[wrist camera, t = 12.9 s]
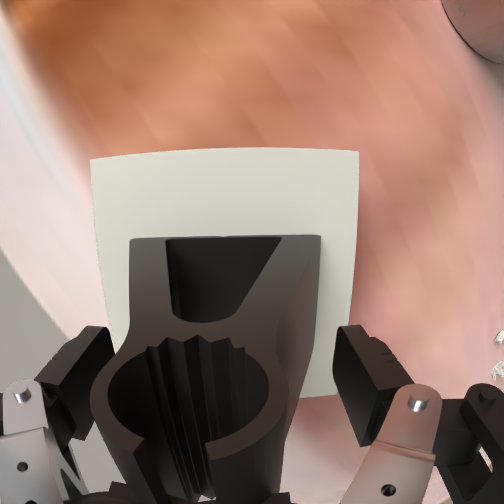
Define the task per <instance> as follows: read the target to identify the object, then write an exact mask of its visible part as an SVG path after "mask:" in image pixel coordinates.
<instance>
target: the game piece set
mask: <svg viewBox="0 0 504 504" xmlns="http://www.w3.org/2000/svg"><path fill="white" fill-rule="evenodd" d="M503 340H504V330H501V331H500V333H499V334H498V336H497V338H496V339H495V341H497V342H498V343H500V344H501V343H502V341H503ZM498 365H499V366H498ZM496 366H497V367H496ZM502 367H504V363H503V361H500V364H499V362H498V364H497V365H495V368H493V371H492V373H491V374H492V375H493V379H494V381H496V374H497V375H500V376H501V377H504V371H502V370H504V369H502ZM495 369H496V370H495ZM495 372H496V373H495ZM494 377H495V378H494Z"/></svg>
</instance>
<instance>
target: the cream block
mask: <svg viewBox="0 0 504 504" xmlns="http://www.w3.org/2000/svg"><path fill="white" fill-rule="evenodd" d="M90 166H91V190H92V206H93V218H94V228H95V238H96V246H97V254H98V262H99V269H100V275H101V282H102V288H103V293H104V299H105V304H106V310H107V315H108V319H109V324H110V329H111V333H112V338H113V342H114V346H115V350H116V353H117V351H118V350H119V349H120V347H121V345H122V344H123V342H124V340H125V338H126V336H127V333H128V330H129V324H130V317H129V241H130V240H131V239H134V238H153V237H189V236H222V237H225V236H235V235H304V234H314V235H320V236H321V251H320V271H319V287H318V302H317V315H316V327H315V338H314V348H313V352H312V355H311V359H310V363H309V366H308V370H307V373H306V377H305V380H304V383H303V387H302V390H301V393H300V397H299V398H307V397H318V396H327V395H336V394H337V391H338V389H337V387H336V384H335V382H334V379H333V373H332V364H333V356H334V349H335V342H336V334H337V329H338V327H339V326H348V321H349V313H350V305H351V296H352V286H353V276H354V264H355V251H356V237H357V218H358V190H359V151H347V150H331V149H309V148H215V149H193V150H177V151H163V152H151V153H141V154H131V155H122V156H113V157H106V158H98V159H91V160H90Z"/></svg>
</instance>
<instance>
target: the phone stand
mask: <svg viewBox="0 0 504 504" xmlns="http://www.w3.org/2000/svg"><path fill="white" fill-rule="evenodd" d="M320 251H321V236H320V235H314V234H304V235H235V236H225V237H222V236H189V237H153V238H134V239H131V240H130V241H129V317H130V324H129V330H128V333H127V336H126V338H125V340H124V342H123V344H122V345H121V347H120V349H119V350H118V351H117V353H116V354H115V355H114V356H113V358H112V359H111V360H110V361H109V362H108V363H107V364H106V365H105V366H104V367H103V368H102V370H101V371H100V372H99V374H98V375H97V377H96V378H95V380H94V382H93V385H92V388H91V392H90V408H91V412H92V415H93V417H94V420H95V422H96V424H97V427H98V429H99V431H100V433H101V435H102V437H103V440H104V442H105V444H106V446H107V448H108V450H109V452H110V454H111V456H112V458H113V459H114V461H115V463H116V465H117V467H118V469H119V471H120V473H121V474H122V476H123V478H124V480H125V481H126V483H127V485H128V487H129V488H130V490H131V492H132V493H133V495H134V496H135V497H136V498H137V499H138V501H139V502H140V503H142V504H171V501H170V499H169V497H168V495H167V494H169V495H172V496H175V497H179V498H182V499H185V500H188V501H192V502H198V500H199V498H200V496H201V495H204V496H206V497H208V498H210V499H213V498H214V497H216V501H217V504H263V503H264V502H265V501H266V500H267V499H268V498H269V497H270V496H271V494H272V493H279V491H280V483H281V474H282V465H283V455H284V445H285V440H286V437H287V434H288V431H289V428H290V425H291V422H292V419H293V416H294V413H295V409H296V406H297V403H298V400H299V397H300V393H301V390H302V387H303V383H304V380H305V377H306V373H307V370H308V366H309V363H310V359H311V355H312V352H313V348H314V338H315V327H316V315H317V302H318V287H319V271H320Z"/></svg>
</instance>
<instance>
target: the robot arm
mask: <svg viewBox="0 0 504 504" xmlns="http://www.w3.org/2000/svg"><path fill="white" fill-rule="evenodd" d="M442 3H443V6H444V9H445V11H446V13H447V15H448V17H449V19H450V20H451V22H452V23H453V25H454V27H455V28H456V30H457V31H458V32H459V34H460V35H461V36H462V37H463V39H464V40H465V41H466V42H467V43H468V44H469V45H470V46H471V47H472V48H473V49H474V50H475V51H476V52H477V53H478V54H480V55H481V56H483V57H484V58H486V59H487V60H490V61H492V62H495V63H504V0H442ZM114 355H115V352H114V348H113V344H112V340H111V336H110V332H109V330H108V328H107V327H99V326H86V327H85V328H84V329H83V330H82V332H81V333H80V334H79V335H78V336H77V337H76V338H74V339H72V340H70V341H69V342H67V343H65V344H64V345H63V346H62V347H61V349H60V350H59V351H58V354H55V356H54V357H53V358H52V360H50V361H49V362H48V363H47V365H46V366H45V367H44V368H43V369H42V370H41V372H40V373H39V374H38V375H37V376H36V378H35V379H34V380H30V379H29V380H28V379H24V380H19V381H16V382H14V383H12V384H11V385H9V386H8V387H7V389H5V391H4V393H0V499H1V504H142V503H140V502H139V501H138V499H137V498H136V497H135V496H134V495H133V493H132V492H131V490H130V488H129V487H128V485H127V484H124V483H119V482H114V481H112V483H111V486H110V489H109V492H95V493H89V491H88V490H87V487H86V485H85V483H84V480H83V478H82V475H81V472H80V470H79V467H78V464H77V462H76V459H75V456H74V453H73V450H72V448H71V446H70V444H69V441H70V440H71V438H75V439H79V440H83V441H85V439H86V437H87V435H88V433H89V431H90V429H91V427H92V425H93V423H94V421H95V420H94V417H93V415H92V412H91V408H90V392H91V388H92V385H93V382H94V380H95V378H96V377H97V375H98V374H99V372H100V371H101V370H102V368H103V367H104V366H105V365H106V364H107V363H108V362H109V361H110V360H111V359H112V358H113V356H114ZM332 373H333V379H334V382H335V384H336V387H337V389H338V392H339V394H340V397H341V399H342V402H343V404H344V407H345V409H346V412H347V414H348V417H349V419H350V422H351V425H352V427H353V430H354V432H355V435H356V437H357V440H358V443H359V445H360V447H363V446H368V445H371V447H370V449H369V451H368V453H367V455H366V457H365V459H364V461H363V463H362V465H361V467H360V469H359V470H358V472H357V474H356V476H355V478H354V479H353V481H352V483H351V485H350V486H349V488H348V490H347V491H346V493H345V495H344V496H343V498H342V500H341V501H340V503H339V504H422V501H423V498H424V495H425V492H426V489H427V486H428V483H429V479H430V476H431V472H432V469H433V466H437V468H438V470H439V473H440V475H441V477H442V479H443V481H444V483H445V486H446V488H447V490H448V492H449V495H450V497H451V499H452V501H453V504H504V393H503V392H502V391H501V390H500V389H498V388H497V387H495V386H493V385H490V384H485V383H480V384H475V385H473V386H471V387H470V388H469V389H468V391H467V393H466V395H465V397H464V399H442V398H441V396H440V394H439V393H438V392H437V391H436V390H434V389H433V388H431V387H429V386H426V385H422V384H415V383H414V382H413V380H412V379H411V377H410V376H409V375H408V373H407V372H406V371H405V369H404V368H403V366H402V365H401V364H400V362H399V361H397V358H396V357H395V356H394V354H392V352H391V350H390V349H389V348H388V346H387V345H386V344H385V343H384V342H382V341H380V340H379V339H377V338H376V337H369V336H368V335H367V333H366V332H365V330H364V329H363V327H362V326H361V325H349V326H339V327H338V329H337V334H336V342H335V349H334V356H333V364H332ZM481 447H483V449H484V451H485V452H486V454H487V456H488V457H489V459H490V460H491V462H492V466H493V471H492V473H491V471H490V469H489V467H488V466H487V464H486V462H485V461H484V459H483V457H482V456H481V454H480V452H479V450H480V448H481ZM167 495H168V497H169V499H170V501H171V504H217V501H216V500H210V501H203V502H192V501H188V500H185V499H182V498H179V497H175V496H172V495H169V494H167ZM263 504H295V503H291V501H290V494H289V492H285V493H272V494H271V496H270V497H269V498H268V499H267V500H266V501H265V502H264V503H263Z"/></svg>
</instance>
